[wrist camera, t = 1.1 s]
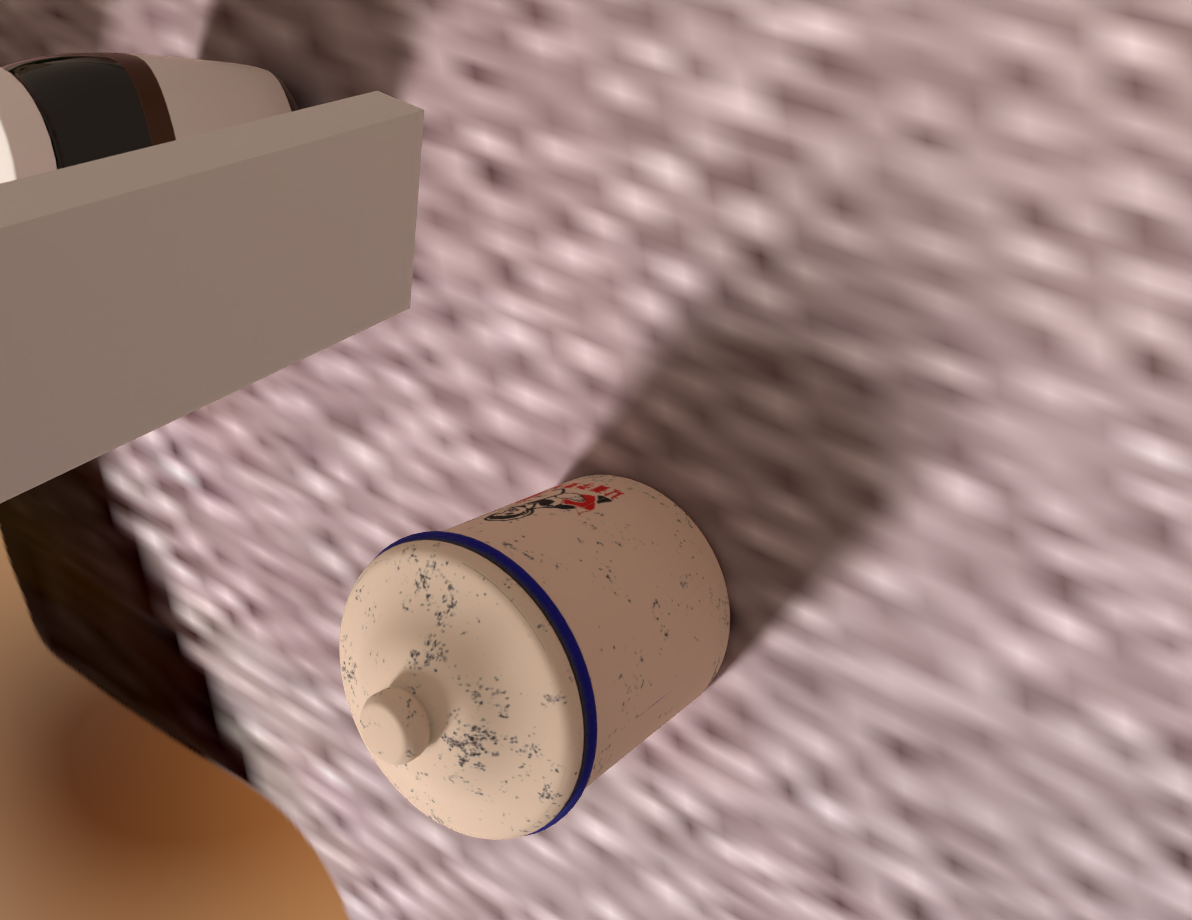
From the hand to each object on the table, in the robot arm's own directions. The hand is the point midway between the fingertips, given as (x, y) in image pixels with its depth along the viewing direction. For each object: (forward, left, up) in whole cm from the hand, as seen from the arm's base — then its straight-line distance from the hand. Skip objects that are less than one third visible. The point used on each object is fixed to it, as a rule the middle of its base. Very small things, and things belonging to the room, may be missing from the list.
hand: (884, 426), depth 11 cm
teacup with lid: (+1, +20, -18) cm, 28 cm away
